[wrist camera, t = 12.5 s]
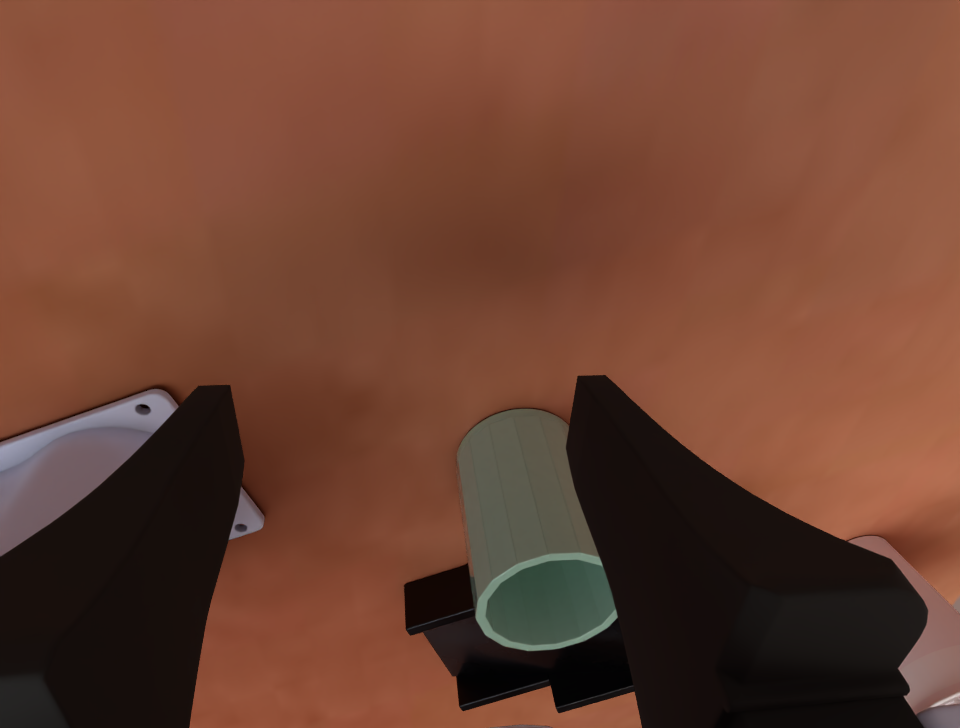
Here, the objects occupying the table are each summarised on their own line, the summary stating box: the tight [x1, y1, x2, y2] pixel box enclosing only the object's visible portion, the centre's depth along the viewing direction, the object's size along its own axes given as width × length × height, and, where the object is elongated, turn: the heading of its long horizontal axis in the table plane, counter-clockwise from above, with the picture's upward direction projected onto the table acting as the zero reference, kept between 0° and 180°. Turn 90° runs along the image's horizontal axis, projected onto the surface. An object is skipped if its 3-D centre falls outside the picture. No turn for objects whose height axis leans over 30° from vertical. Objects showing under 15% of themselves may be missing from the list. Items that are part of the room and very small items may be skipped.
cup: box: [456, 409, 618, 651], centre depth 26 cm, size 5×5×8 cm
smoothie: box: [847, 536, 960, 715], centre depth 31 cm, size 6×6×14 cm
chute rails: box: [404, 565, 635, 713], centre depth 33 cm, size 15×8×6 cm, turn 109°
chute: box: [423, 616, 630, 676], centre depth 33 cm, size 15×7×5 cm, turn 109°
